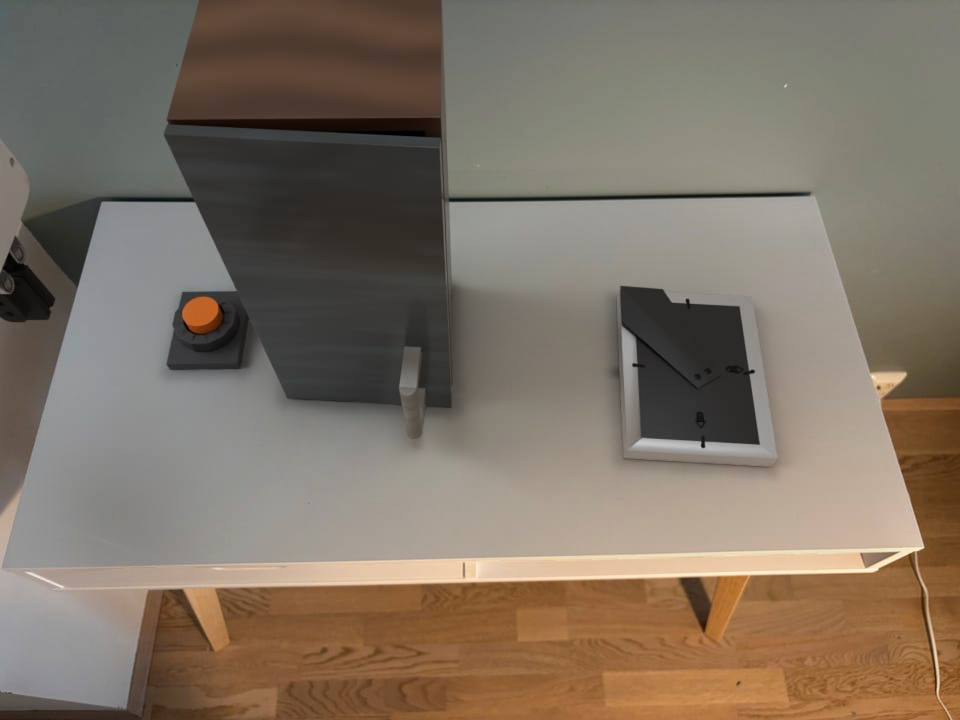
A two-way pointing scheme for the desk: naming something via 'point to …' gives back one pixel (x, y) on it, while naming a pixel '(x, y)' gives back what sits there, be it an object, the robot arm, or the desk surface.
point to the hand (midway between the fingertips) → (30, 310)
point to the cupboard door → (332, 256)
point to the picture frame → (692, 379)
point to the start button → (202, 315)
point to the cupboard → (319, 72)
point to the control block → (210, 335)
